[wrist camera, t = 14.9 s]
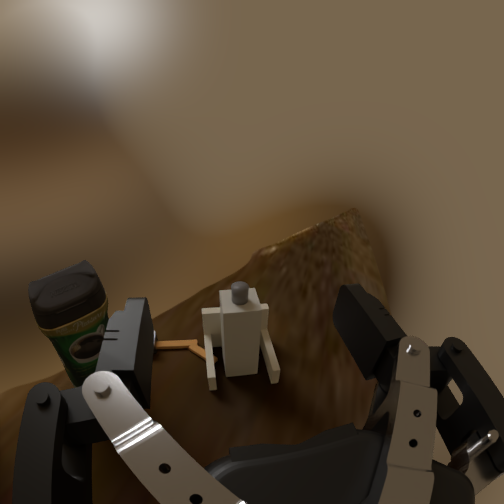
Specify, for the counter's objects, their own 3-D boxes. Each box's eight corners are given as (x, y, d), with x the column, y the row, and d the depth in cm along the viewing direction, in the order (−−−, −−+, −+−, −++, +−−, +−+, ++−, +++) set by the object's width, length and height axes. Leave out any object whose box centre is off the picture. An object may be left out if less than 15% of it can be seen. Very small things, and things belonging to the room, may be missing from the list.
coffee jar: (121, 353, 39) (88, 247, 30) (145, 386, 34) (108, 274, 25) (70, 378, 33) (20, 274, 24) (89, 415, 28) (25, 309, 19)
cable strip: (152, 367, 37) (151, 365, 37) (154, 343, 41) (153, 341, 41) (218, 364, 39) (218, 362, 39) (215, 340, 43) (215, 338, 43)
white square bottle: (225, 376, 37) (222, 299, 30) (222, 354, 41) (218, 277, 34) (257, 373, 38) (263, 296, 31) (251, 351, 42) (255, 274, 35)
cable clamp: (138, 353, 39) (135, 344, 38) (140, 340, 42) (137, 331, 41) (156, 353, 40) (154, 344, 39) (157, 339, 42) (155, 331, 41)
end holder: (209, 390, 35) (205, 358, 31) (205, 342, 43) (201, 308, 40) (278, 382, 36) (283, 350, 33) (264, 337, 44) (266, 303, 41)
